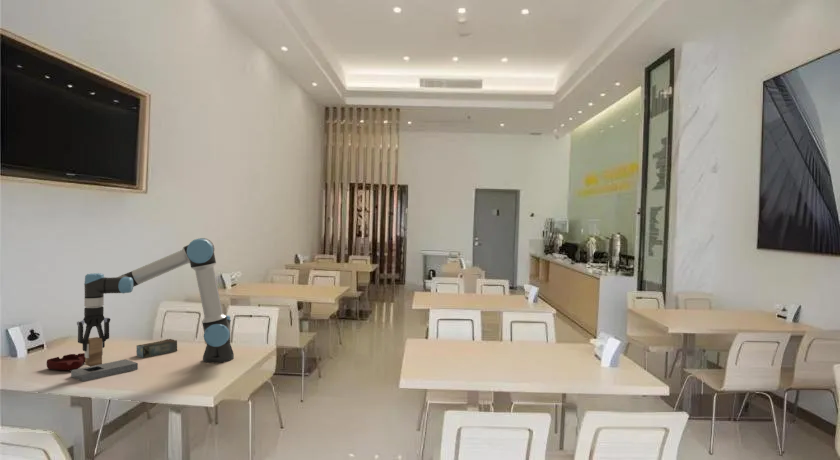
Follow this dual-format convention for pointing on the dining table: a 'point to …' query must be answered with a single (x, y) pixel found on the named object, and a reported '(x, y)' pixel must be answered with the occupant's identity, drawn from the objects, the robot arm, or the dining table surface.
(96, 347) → the walnut block
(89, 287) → the robot arm
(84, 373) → the steel rail
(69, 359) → the dark red curved piece
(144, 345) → the beverage carton
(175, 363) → the dining table surface
